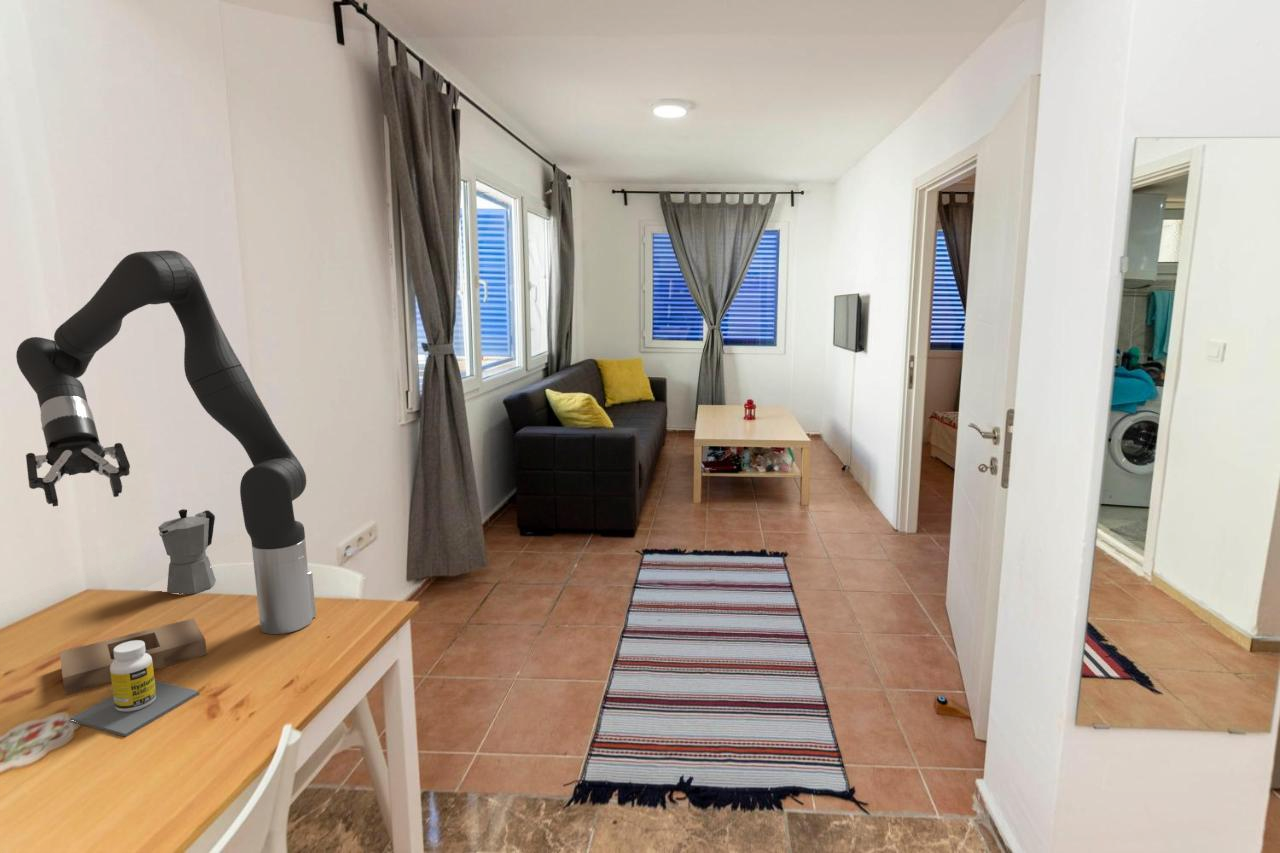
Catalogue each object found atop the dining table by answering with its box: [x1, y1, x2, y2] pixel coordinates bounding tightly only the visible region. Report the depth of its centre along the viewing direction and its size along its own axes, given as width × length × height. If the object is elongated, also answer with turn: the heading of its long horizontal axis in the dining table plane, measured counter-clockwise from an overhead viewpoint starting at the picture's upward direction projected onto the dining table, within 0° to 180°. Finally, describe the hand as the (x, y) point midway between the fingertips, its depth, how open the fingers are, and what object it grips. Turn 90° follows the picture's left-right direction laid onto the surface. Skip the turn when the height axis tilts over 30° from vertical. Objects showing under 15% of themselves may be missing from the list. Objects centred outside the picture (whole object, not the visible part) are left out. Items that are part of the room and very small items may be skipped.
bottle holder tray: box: [59, 617, 208, 696], centre depth 124 cm, size 20×11×3 cm, turn 131°
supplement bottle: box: [110, 640, 156, 712], centre depth 110 cm, size 5×5×10 cm
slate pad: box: [69, 679, 201, 737], centre depth 111 cm, size 12×12×1 cm
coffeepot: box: [158, 508, 217, 595], centre depth 155 cm, size 15×9×18 cm, turn 174°
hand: (86, 499), depth 123 cm, fingers open, 8 cm apart
